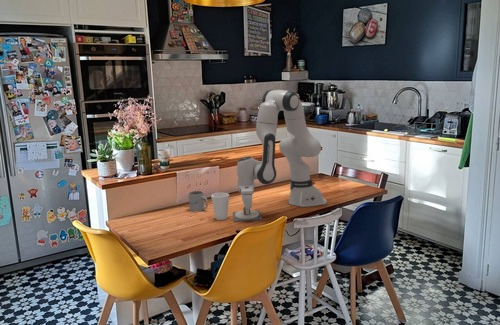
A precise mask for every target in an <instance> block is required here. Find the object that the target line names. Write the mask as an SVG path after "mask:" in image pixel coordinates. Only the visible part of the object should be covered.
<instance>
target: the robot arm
mask: <svg viewBox="0 0 500 325" xmlns="http://www.w3.org/2000/svg"><path fill="white" fill-rule="evenodd" d="M281 111H283V116H284V120H285V126H286V130H287V133H289V134H290V135H292V136H290V137H289V136H288V137H283V138H281V140H280V141H279V143H278V144H279V145H278V148H279V151H280V153H281V154H282V155H283V156H284V157H285V158H286V161H287V162H288V164H289V170H290V180H289V189H290V192H289V198H288V204H290V205H292V206H296V207H302V208H306V207H315V206H323V205H327V203H328V201H327V199H326V198H324V197H323V193H322V191H321V190H320V189H319V188H317V187H316V186H314V185H315V184H316V181H315V180H312V179H311V178H310V170H311V169H310V166H309V164H308V163H307V162H305V161H304V160H303V158H314V157H315V158H316V157H318V155H319V154H320V153H321V151H322V145H321V142H320V141H319V140H318V139H317V138H315V136H313V134H312V133H311V132H310V131H309V128H308V126H307V124H306V123H307V122H306V118H305V112H304V108H303V104H302V102H301V99H300V98H299V95H298V93H297V92H295V91H292V90H285V89H269V90H266V91H265V93H264V94H263V96H262V102H261V104H260V105H259V109H258V113H257V117H256V124H255V131H256V136H257V137H258V139H259V140H260V142H261V144H262V156H261V157H262V158H261V161H260V160H257V159H255V158H253V157H252V156H244V157H240V158H239V159H238V161H237V163H236V175H237V191H238V192H240V195H241V199H242V203H243V207H244V208H245V209H246V214H249V208H250V209H252V207H253V206H252V205H253V194H254V190H255V180H258V182H259V183H261V184H262V185H270V184H272V183H274V182H275V180H276V178H277V169H276V166H275V162H276V161H275V159H276V139H277V138H276V136H277V127H278V120H279V119H278V118H279V117H278V116H279V113H280V112H281Z"/></svg>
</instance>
